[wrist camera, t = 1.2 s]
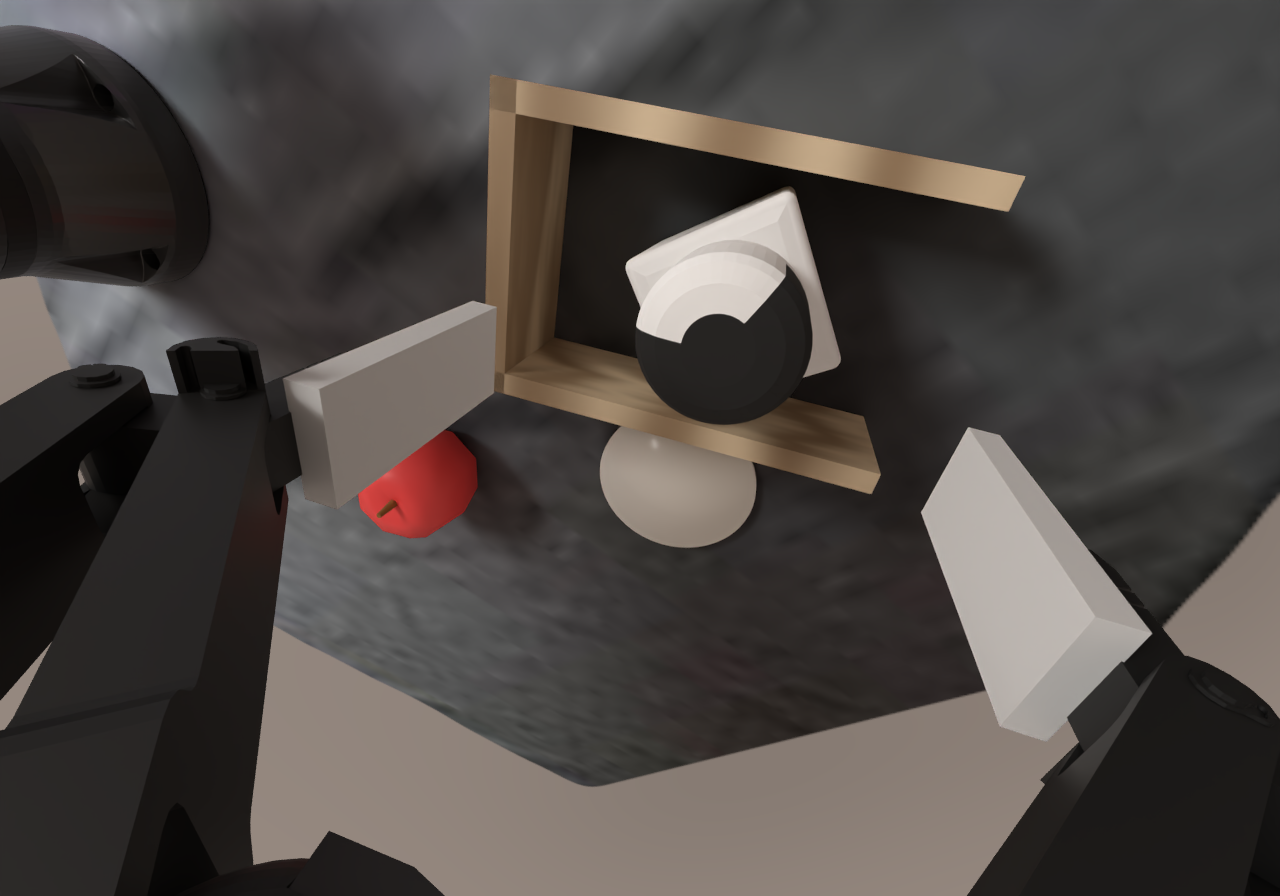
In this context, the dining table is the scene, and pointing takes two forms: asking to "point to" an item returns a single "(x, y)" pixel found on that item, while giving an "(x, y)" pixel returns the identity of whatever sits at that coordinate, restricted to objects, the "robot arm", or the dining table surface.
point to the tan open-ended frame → (613, 383)
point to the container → (732, 313)
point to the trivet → (675, 488)
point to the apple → (423, 489)
